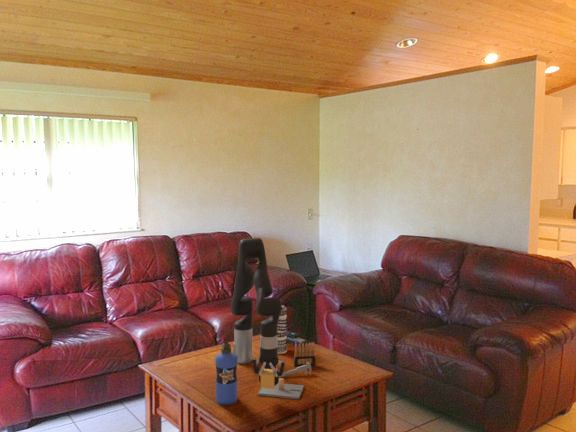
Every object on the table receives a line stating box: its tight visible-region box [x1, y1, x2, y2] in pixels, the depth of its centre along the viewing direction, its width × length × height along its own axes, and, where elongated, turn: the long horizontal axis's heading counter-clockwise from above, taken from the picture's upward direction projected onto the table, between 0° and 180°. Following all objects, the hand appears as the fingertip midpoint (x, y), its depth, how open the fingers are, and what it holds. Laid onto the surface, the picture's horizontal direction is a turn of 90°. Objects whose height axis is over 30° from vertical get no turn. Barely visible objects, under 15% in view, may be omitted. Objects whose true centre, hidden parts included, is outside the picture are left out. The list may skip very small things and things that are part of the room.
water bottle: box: [214, 341, 238, 406], centre depth 211 cm, size 9×9×25 cm
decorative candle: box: [277, 304, 289, 355], centre depth 269 cm, size 9×9×25 cm
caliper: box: [279, 362, 313, 379], centre depth 237 cm, size 20×1×6 cm, turn 108°
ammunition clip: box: [293, 341, 316, 368], centre depth 249 cm, size 11×2×12 cm, turn 98°
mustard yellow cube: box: [260, 369, 276, 389], centre depth 210 cm, size 6×6×6 cm
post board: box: [257, 377, 305, 400], centre depth 220 cm, size 18×12×6 cm, turn 78°
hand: (268, 383), depth 210 cm, fingers closed on mustard yellow cube, 5 cm apart
